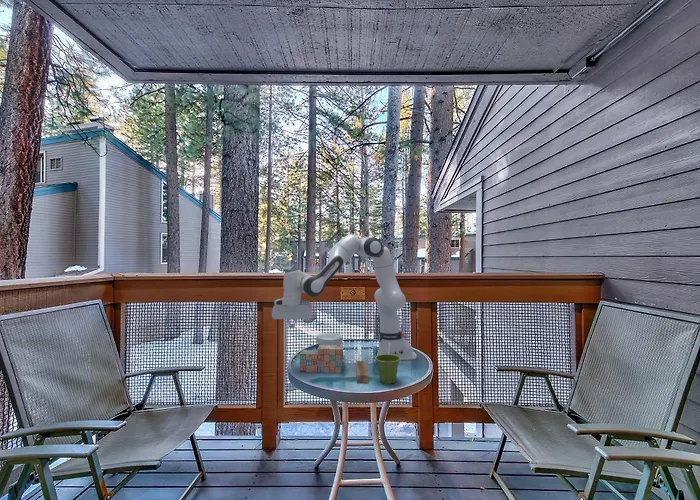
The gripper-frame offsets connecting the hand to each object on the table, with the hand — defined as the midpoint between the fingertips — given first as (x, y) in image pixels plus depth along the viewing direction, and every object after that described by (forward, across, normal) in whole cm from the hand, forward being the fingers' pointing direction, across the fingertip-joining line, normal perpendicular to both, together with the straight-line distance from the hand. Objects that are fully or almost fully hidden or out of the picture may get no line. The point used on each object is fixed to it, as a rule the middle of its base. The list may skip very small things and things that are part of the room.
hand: (292, 327), depth 182 cm
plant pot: (+22, -48, +15) cm, 55 cm away
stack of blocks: (+22, -15, 0) cm, 27 cm away
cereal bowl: (+22, -17, -41) cm, 50 cm away
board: (+22, -36, +7) cm, 43 cm away
